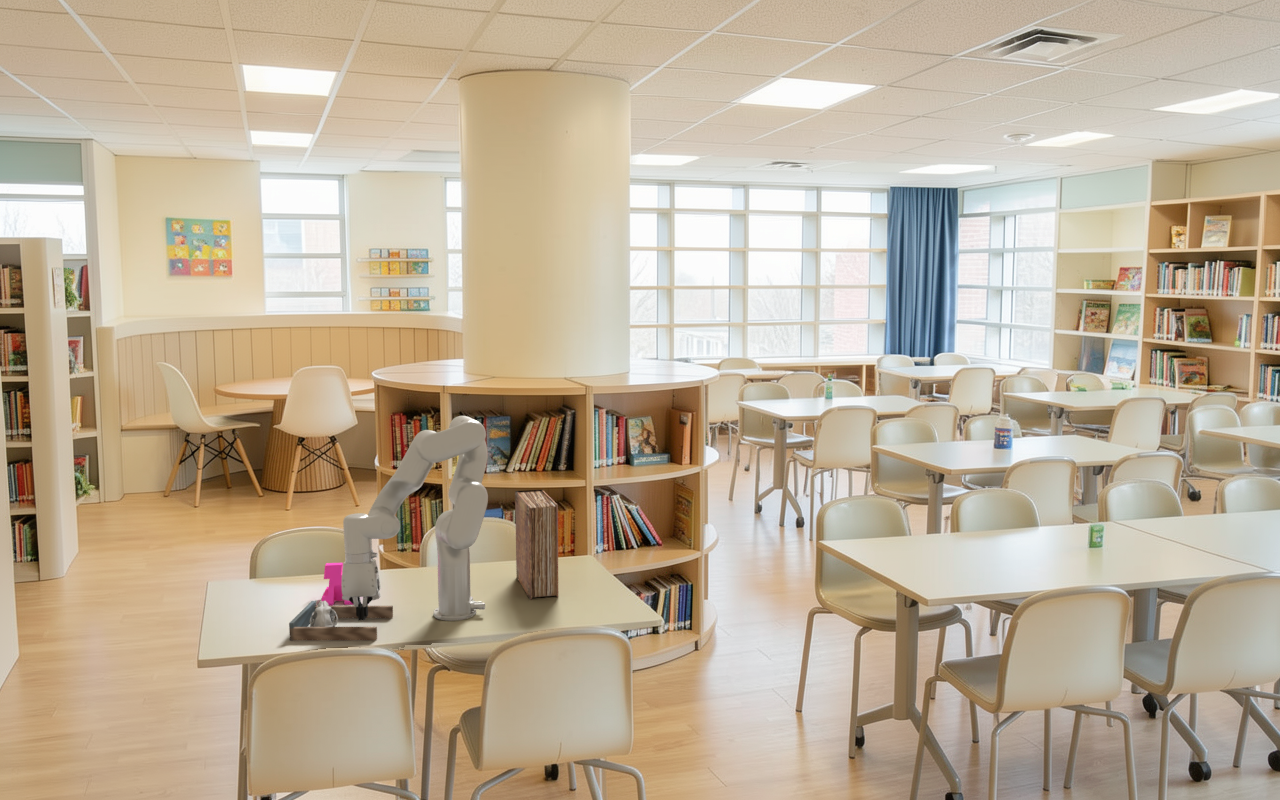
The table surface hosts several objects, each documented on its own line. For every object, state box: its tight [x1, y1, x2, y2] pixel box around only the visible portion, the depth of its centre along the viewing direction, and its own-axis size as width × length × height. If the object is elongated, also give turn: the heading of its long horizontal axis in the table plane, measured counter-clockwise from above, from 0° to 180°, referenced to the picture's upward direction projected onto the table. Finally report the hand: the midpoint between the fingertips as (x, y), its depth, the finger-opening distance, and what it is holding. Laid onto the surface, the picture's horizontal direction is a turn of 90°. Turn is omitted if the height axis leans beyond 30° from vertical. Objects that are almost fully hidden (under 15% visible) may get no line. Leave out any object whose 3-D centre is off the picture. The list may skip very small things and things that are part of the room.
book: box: [514, 489, 559, 601], centre depth 317 cm, size 25×9×30 cm, turn 17°
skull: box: [309, 600, 339, 627], centre depth 280 cm, size 8×9×12 cm
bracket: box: [321, 562, 354, 606], centre depth 306 cm, size 12×10×10 cm
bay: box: [288, 600, 394, 641], centre depth 280 cm, size 24×19×5 cm
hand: (362, 618), depth 280 cm, fingers closed
